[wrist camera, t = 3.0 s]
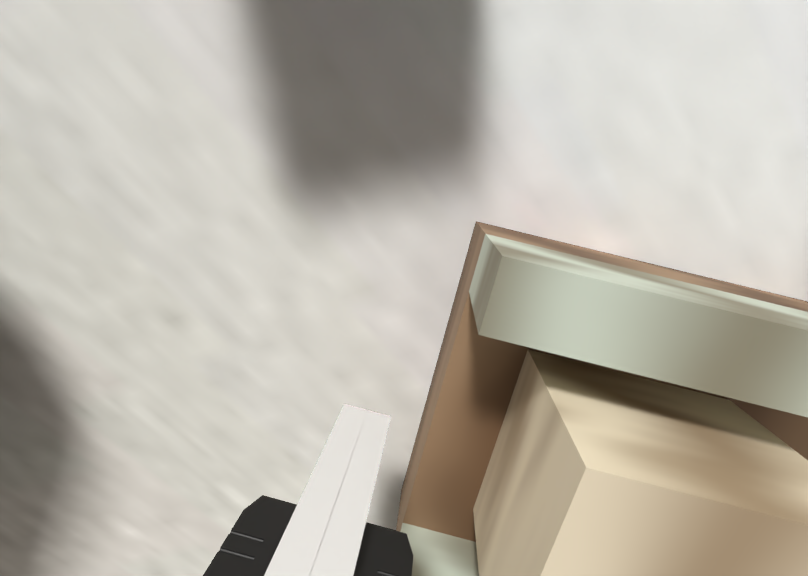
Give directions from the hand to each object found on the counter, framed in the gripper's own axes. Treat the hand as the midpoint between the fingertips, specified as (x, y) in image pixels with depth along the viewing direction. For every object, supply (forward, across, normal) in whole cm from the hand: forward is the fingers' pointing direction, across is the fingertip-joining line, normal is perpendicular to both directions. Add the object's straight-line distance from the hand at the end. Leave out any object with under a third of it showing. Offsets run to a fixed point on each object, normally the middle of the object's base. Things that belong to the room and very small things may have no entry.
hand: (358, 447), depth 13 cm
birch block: (+3, +8, 0) cm, 9 cm away
